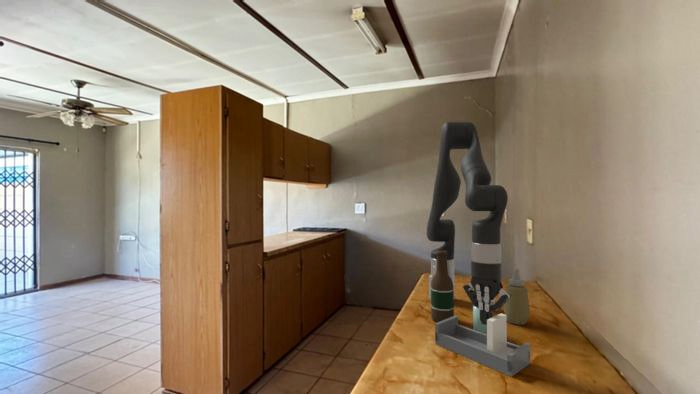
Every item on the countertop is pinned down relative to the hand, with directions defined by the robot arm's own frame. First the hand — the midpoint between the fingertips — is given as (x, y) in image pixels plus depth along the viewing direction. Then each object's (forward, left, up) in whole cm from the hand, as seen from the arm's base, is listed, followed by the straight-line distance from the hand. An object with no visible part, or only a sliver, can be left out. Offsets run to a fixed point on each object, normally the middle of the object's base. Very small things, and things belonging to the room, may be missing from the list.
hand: (486, 324), depth 87 cm
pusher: (+4, 0, -7) cm, 9 cm away
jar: (-8, +12, -9) cm, 17 cm away
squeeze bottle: (-6, +30, -9) cm, 32 cm away
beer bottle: (-23, +12, -9) cm, 28 cm away
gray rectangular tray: (-2, 0, -9) cm, 9 cm away
